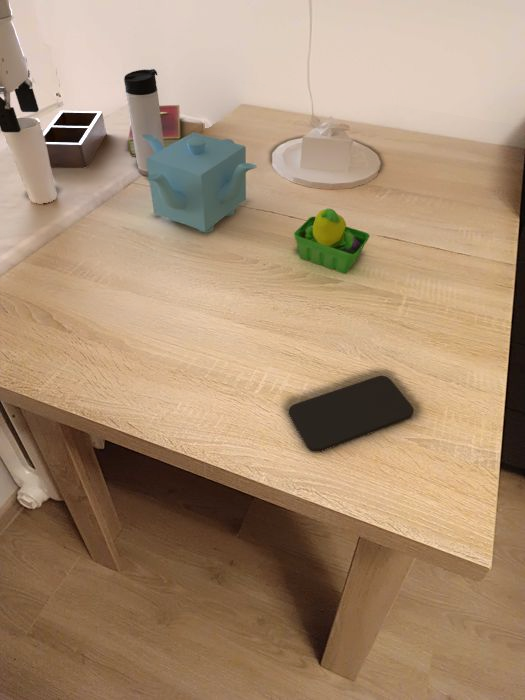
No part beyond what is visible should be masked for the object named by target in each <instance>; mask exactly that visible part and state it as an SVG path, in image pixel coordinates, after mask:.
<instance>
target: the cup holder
mask: <svg viewBox="0 0 525 700" xmlns="http://www.w3.org/2000/svg"><path fill="white" fill-rule="evenodd" d="M43 133H44V137H45V141H46V145H47V150H48V155H49V160H50V165H51V168H59V169H60V168H62V169H63V168H66V169H85V168H84V167H87V166H88V167H89V165H90V163H91V161H92V160H93V159H94V156H95V155H96V153H97V151H98V149H99V147H100V146H101V144H102V142H103V140H104V139H105V137H106V136H107V130H106V125H105V119H104V115H103V111H85V110H84V111H81V110H80V111H79V110H60V111H59V112H58V114H57V115H55V117H54V118H53V120H52V121H51V122H50V123H49V125H48V126H47V127H46V129H45V130H44V131H43ZM88 167H87V168H88Z"/></svg>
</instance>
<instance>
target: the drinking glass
mask: <svg viewBox="0 0 525 700" xmlns="http://www.w3.org/2000/svg"><path fill="white" fill-rule="evenodd" d="M16 117H17V116H16ZM17 120H18V123H19V126H20V129H21V130H20V132H2V134H3V137H4V140H5V143H6V146H7V149H8V151H9V153H10V155H11V158H12V161H13V162H14V164H15V167H16V169H17V172H18V174H19V176H20V178H21V180H22V183H23V186H24V188H25V190H26V193H27V196H28V198H29V201H30V202H31V203H33V204H36V203H37V204H36V205H44V204H43V203H47V204H49V203H48V202H50V203H52V202H54V201H55V200H56V199H57V198H56V197H58V193H57V188H56V185H55V180H54V175H53V171H52V167H51V165H50V160H49V155H48V150H47V145H46V141H45V137H44V131H43V127H42V125H41V122H40V119H38V118H36V117H32V116H19V117H17ZM53 200H54V201H53ZM51 201H52V202H51Z"/></svg>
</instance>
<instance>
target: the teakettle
mask: <svg viewBox="0 0 525 700" xmlns="http://www.w3.org/2000/svg"><path fill="white" fill-rule="evenodd" d="M142 136H143V138H145V139H146V140H147V141H148V142H149V144H150V145H151V147H152V149H153V151H154V154H153V155H151V156H150V157H148V158H147V159H146V162H147V168H148V175H149V176H146V178H145V179H146V180H147V181H149V189H150V194H151V200H152V207H153V213H154V215H157V216H160V217H163V218H166V219H168V220H169V221H170V222H174V223H179V224H183V225H186V226H188V227H191V228H195V229H198V231H199V232H201V233H211V232H213V230H214V229H215V227H214V226H215V225H216V224H217V223H218V222H220V220H222V219H224V218H225V217H229V216H230V217H231V216H233V215H234V214H235V209H236V208H237V207H239V206H240V205H241V204H243V203H244V202H245V201H246V200H247V172H249V171H251V170H253V169H256V168H257V167H258V166H257V165H256V164H254V163H249V162H247V160H246V159H247V156H246V155H247V154H246V152H247V151H246V148H247V147H246V145H242V144H238V143H235V141H234V140H233V139H230V138H224V139H222V138H216V137H214V136H209V135H205V134H202V133H197V132H195V131H194V132H191V133H189V134H188V135H185V136H184V137H181V139H180V140H178V141H176V142H175V143H173V144H171V145H169V146H167V147H166V148H164V147H163V145H162V144H161V142H160V141H159V140H158V139H157V138H156V137H154V136H152V135H148V134H144V135H142Z"/></svg>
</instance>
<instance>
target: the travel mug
mask: <svg viewBox="0 0 525 700" xmlns="http://www.w3.org/2000/svg"><path fill="white" fill-rule="evenodd" d="M156 76H158V72H157V70H156V69H155V68H152V69H151V68H150V69H138V70H134V71H131V72H129V73H127V74H125V75H124V78H123V81H124V86H125V97H126V102H127V109H128V115H129V120H130V126H131V128H132V134H133V140H134V146H135V152H136V156H135V157H136V163H137V164H136V165H137V170H138V172H139V173H140V174H141V175H143V176H145V177H148V176H149V175H148V168H147V162H146V159H147V158H148V157H150V156H151V155H153V154H154V151H153V149H152V147H151V145H150V144H149V142H148V141H147V140H146V139H145V138H143V136H142V135H144V134H148V135H152V136H154V137H156V138H157V139H158V140H159V141H160V142H161V144H162V145H163V147H164V141H163V133H162V125H161V116H160V108H159V106H160V102H159V101H160V100H159V92H158V86H157V80H156V79H157V78H156Z"/></svg>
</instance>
